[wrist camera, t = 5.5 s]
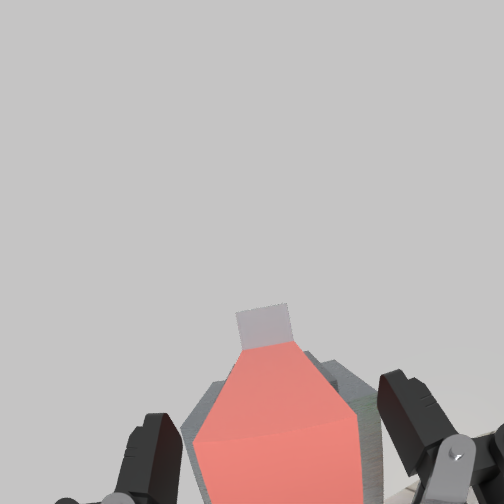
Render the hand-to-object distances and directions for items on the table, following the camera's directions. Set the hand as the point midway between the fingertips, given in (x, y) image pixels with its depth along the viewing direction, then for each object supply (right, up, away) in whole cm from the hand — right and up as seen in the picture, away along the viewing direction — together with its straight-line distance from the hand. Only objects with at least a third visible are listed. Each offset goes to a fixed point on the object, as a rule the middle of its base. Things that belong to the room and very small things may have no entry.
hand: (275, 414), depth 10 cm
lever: (+1, -4, +8) cm, 8 cm away
